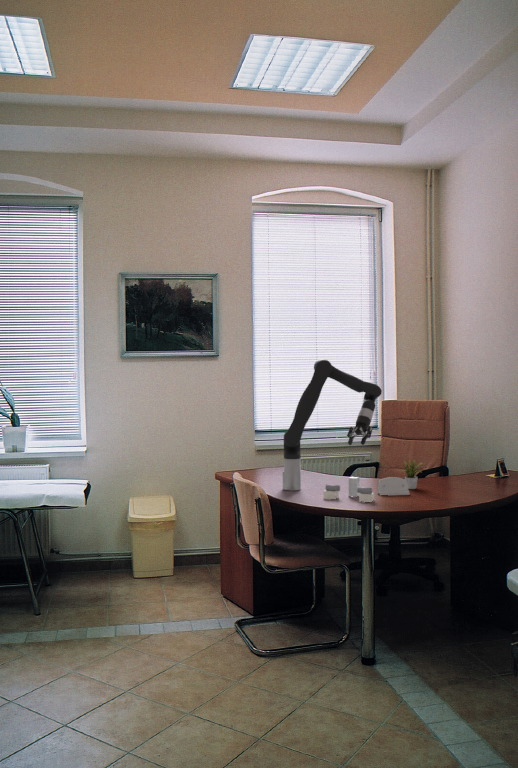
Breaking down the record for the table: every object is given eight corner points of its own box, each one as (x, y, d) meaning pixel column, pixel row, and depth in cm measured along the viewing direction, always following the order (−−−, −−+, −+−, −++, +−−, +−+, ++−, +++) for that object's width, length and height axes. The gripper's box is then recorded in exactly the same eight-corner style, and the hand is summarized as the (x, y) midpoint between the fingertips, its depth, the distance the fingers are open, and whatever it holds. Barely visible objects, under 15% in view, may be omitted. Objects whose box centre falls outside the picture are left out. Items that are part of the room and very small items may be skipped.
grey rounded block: (379, 495, 353) (377, 476, 356) (377, 497, 357) (375, 478, 360) (410, 494, 354) (408, 475, 358) (407, 496, 359) (405, 477, 362)
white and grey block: (356, 501, 338) (356, 487, 338) (359, 499, 344) (359, 485, 343) (370, 503, 335) (370, 489, 335) (374, 500, 340) (374, 486, 340)
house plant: (425, 491, 363) (425, 461, 362) (399, 490, 365) (399, 460, 365) (424, 486, 377) (424, 457, 376) (399, 485, 379) (399, 457, 379)
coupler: (348, 496, 350) (348, 477, 350) (351, 495, 354) (351, 476, 354) (356, 497, 348) (356, 478, 348) (359, 496, 352) (359, 477, 352)
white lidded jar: (323, 498, 346) (323, 485, 345) (327, 496, 351) (327, 483, 351) (337, 500, 343) (337, 486, 342) (341, 497, 348) (341, 484, 348)
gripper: (350, 415, 367) (341, 441, 361) (371, 414, 357) (362, 440, 350) (358, 422, 371) (349, 448, 365) (379, 421, 361) (370, 447, 354)
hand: (355, 444), depth 357 cm, fingers open, 8 cm apart
